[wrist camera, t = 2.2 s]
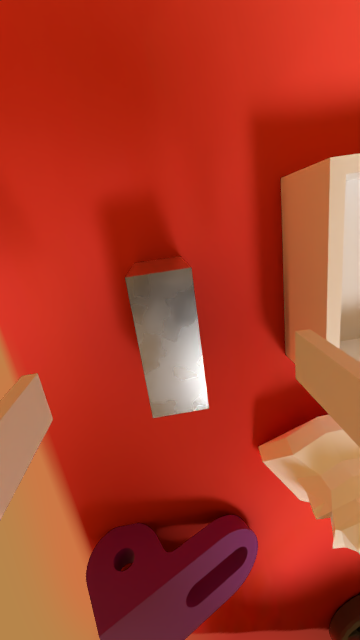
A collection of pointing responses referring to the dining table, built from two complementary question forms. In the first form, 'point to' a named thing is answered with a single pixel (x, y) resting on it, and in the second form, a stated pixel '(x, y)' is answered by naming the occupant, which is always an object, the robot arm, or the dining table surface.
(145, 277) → the brushed metal block
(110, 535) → the mounting bracket
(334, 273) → the cream rectangular tray
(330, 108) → the dining table surface
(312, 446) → the cream faceted chunk
